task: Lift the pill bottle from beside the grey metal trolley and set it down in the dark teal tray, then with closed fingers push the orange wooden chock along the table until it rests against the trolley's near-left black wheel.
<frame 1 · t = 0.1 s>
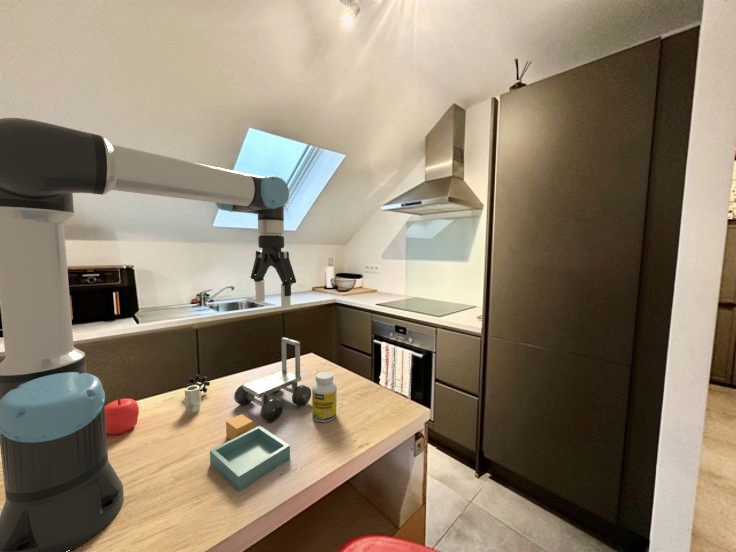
hand: (272, 304, 94), 28 cm above the counter, fingers open, 13 cm apart
valve: (195, 404, 88), on the counter
trolley: (273, 404, 88), on the counter
tray: (250, 461, 65), on the counter
apple: (121, 430, 76), on the counter
chock: (239, 437, 73), on the counter
pill bottle: (324, 417, 82), on the counter
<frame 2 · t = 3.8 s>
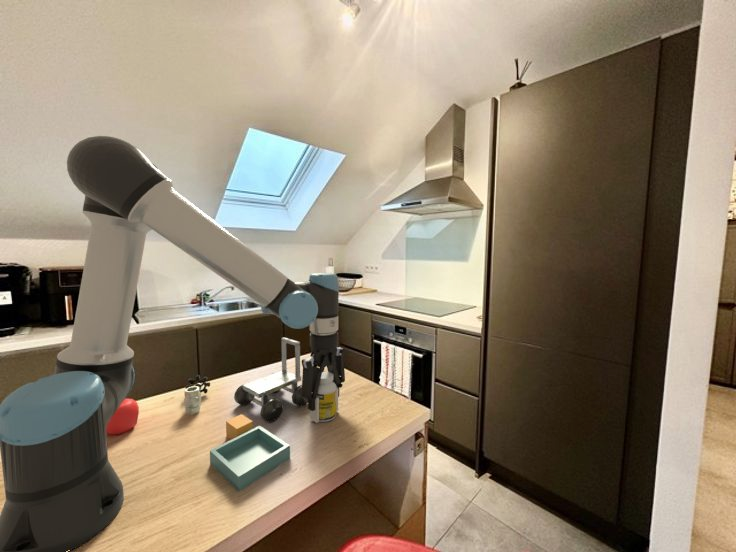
hand: (324, 414, 82), 0 cm above the counter, fingers closed on pill bottle, 6 cm apart
pill bottle: (324, 417, 82), on the counter, touching gripper
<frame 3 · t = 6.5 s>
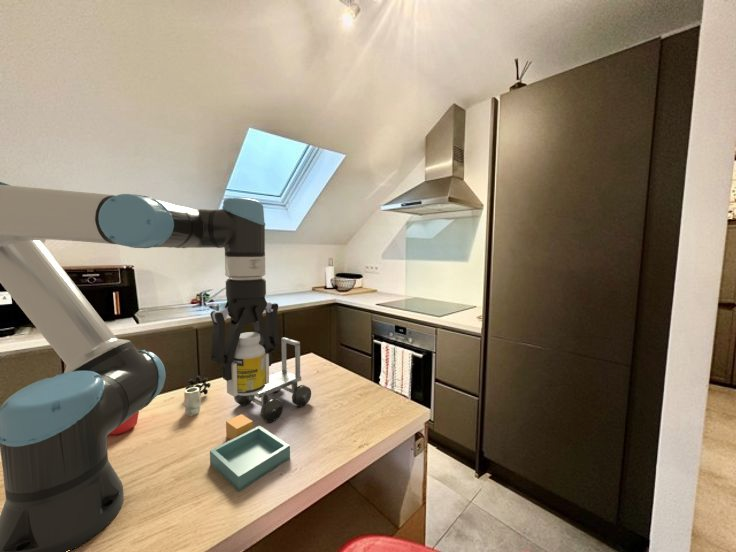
hand: (248, 387, 63), 16 cm above the counter, fingers closed on pill bottle, 6 cm apart
pill bottle: (249, 390, 63), point 16 cm above the counter, touching gripper
when the fingers open (3 cm above the counter, at t = 9.2 s): pill bottle drops 2 cm, resting on tray.
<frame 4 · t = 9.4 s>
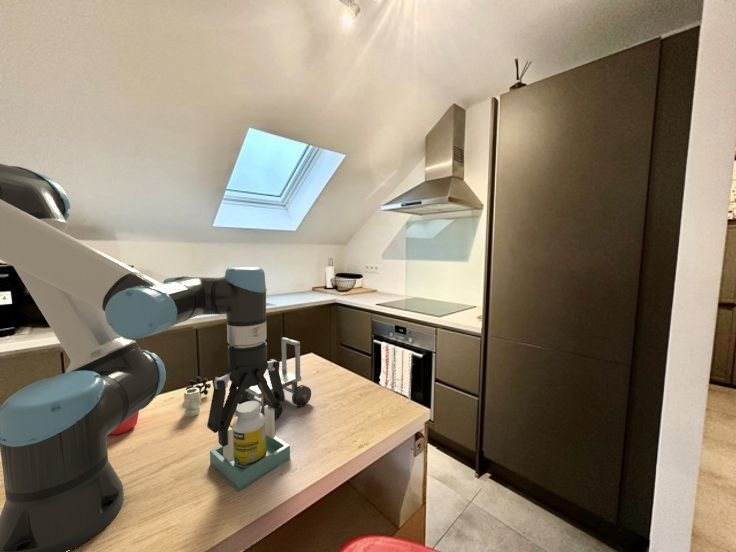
hand: (250, 446, 64), 3 cm above the counter, fingers open, 9 cm apart
pill bottle: (250, 459, 65), resting on tray
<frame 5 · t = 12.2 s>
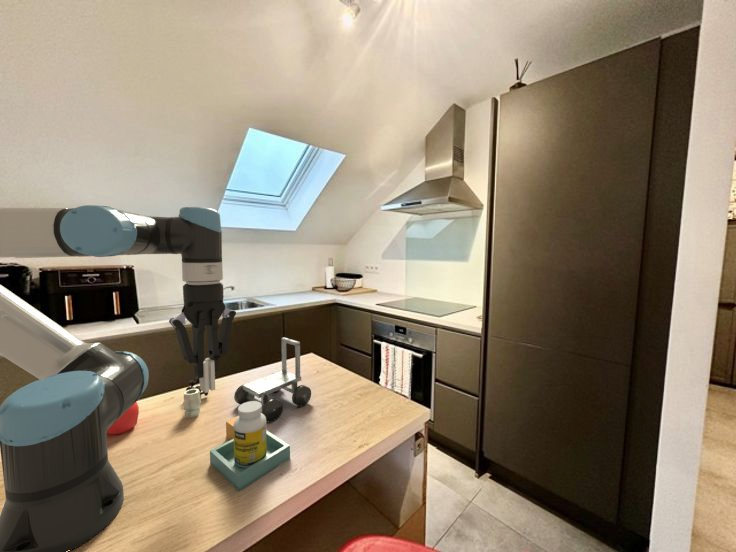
hand: (207, 389, 66), 14 cm above the counter, fingers closed
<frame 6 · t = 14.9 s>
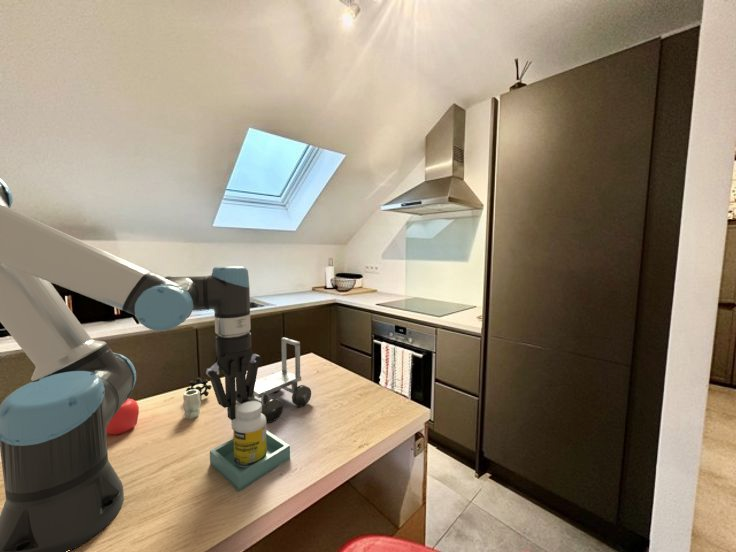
hand: (237, 429, 72), 2 cm above the counter, fingers closed
chock: (247, 432, 75), on the counter, touching gripper
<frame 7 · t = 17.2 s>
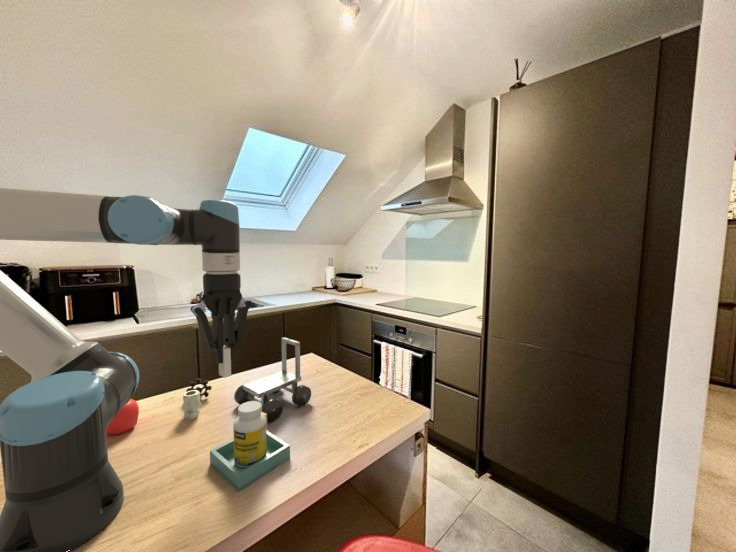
hand: (225, 375, 69), 16 cm above the counter, fingers closed
chock: (254, 429, 76), on the counter
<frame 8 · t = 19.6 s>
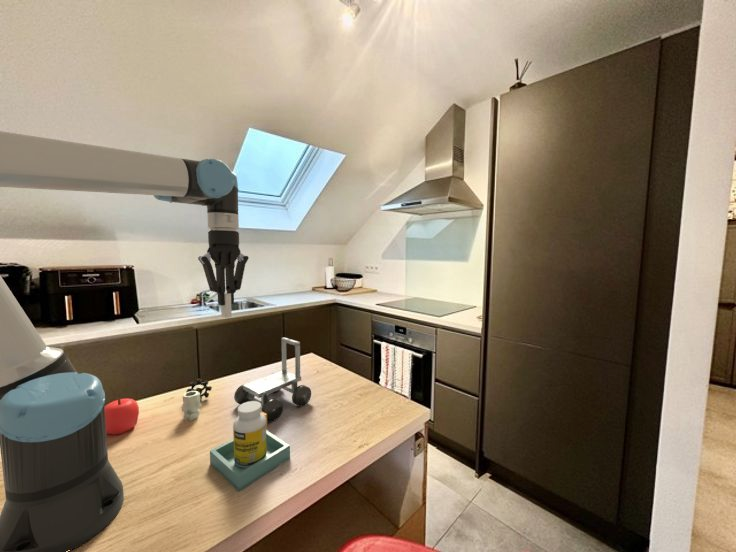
hand: (226, 316, 84), 26 cm above the counter, fingers closed
at the end: pill bottle inside the target area on the tray (0.0 cm from its centre), point 0.4 cm above the tray's base; pill bottle tilted 0°; chock 0.2 cm from the target spot on the counter beside the trolley, on the counter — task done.
